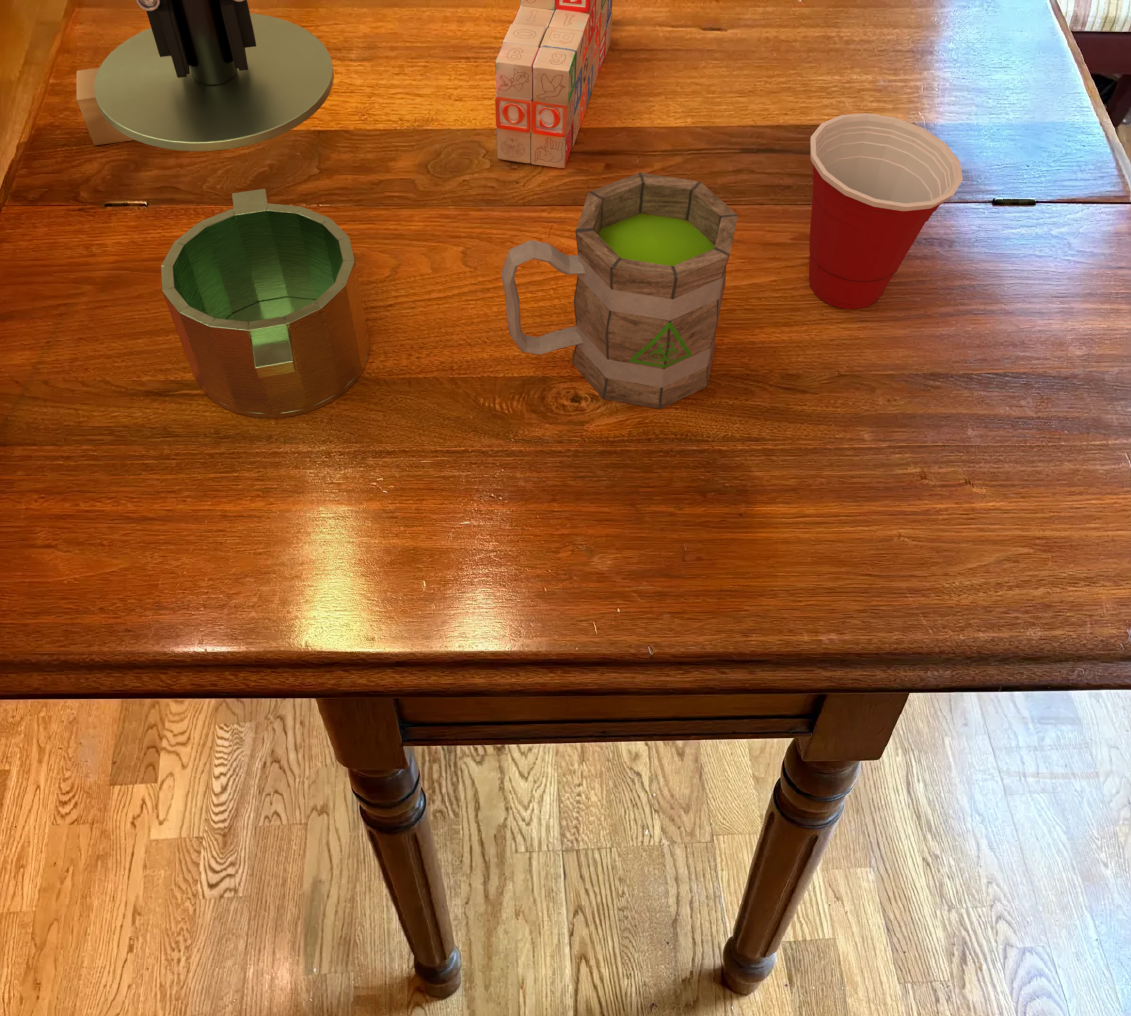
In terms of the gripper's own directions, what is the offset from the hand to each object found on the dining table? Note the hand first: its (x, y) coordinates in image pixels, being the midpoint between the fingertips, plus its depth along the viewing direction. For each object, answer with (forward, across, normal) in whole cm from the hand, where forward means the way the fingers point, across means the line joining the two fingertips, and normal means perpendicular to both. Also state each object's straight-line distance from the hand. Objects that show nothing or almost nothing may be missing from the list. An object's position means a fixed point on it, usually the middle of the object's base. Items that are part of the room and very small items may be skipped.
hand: (211, 58), depth 62 cm
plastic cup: (+22, -44, +5) cm, 49 cm away
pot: (+22, 0, +2) cm, 22 cm away
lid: (+1, 0, 0) cm, 1 cm away
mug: (+22, -23, +8) cm, 33 cm away
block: (+22, +11, -30) cm, 39 cm away
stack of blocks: (+22, -28, -26) cm, 44 cm away
